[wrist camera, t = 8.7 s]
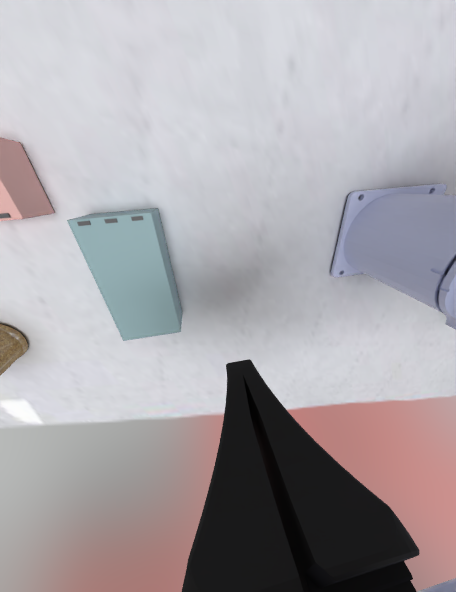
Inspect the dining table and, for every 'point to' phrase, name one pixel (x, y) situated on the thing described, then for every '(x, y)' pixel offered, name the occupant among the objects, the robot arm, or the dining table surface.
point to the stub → (19, 185)
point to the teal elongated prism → (131, 270)
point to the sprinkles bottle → (10, 346)
